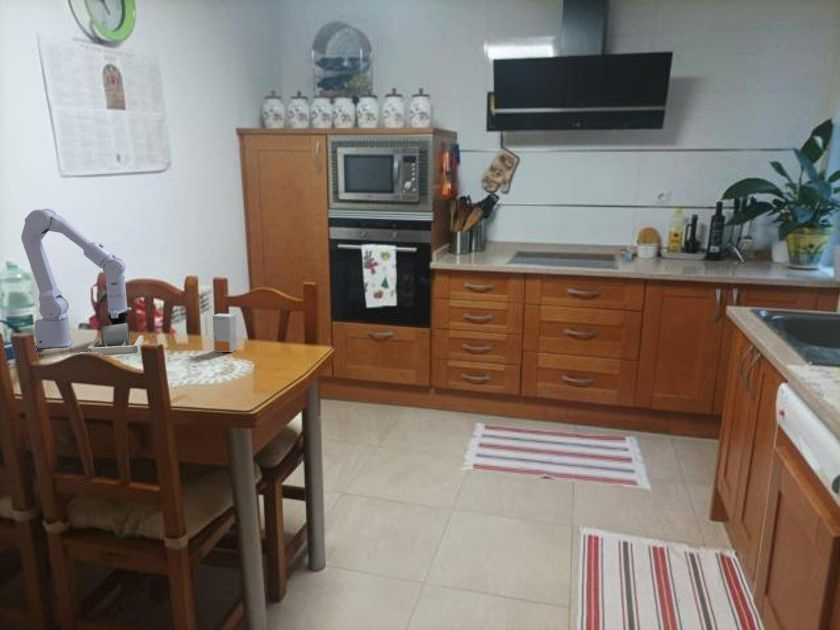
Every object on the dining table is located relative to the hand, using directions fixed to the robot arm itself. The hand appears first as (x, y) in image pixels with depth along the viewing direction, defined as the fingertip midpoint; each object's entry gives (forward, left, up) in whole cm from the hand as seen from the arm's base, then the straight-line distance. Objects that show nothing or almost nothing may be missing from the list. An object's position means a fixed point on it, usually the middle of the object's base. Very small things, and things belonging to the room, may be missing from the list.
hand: (120, 335), depth 212 cm
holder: (0, -7, -2) cm, 8 cm away
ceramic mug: (0, -8, -3) cm, 9 cm away
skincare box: (+34, -21, -3) cm, 40 cm away
